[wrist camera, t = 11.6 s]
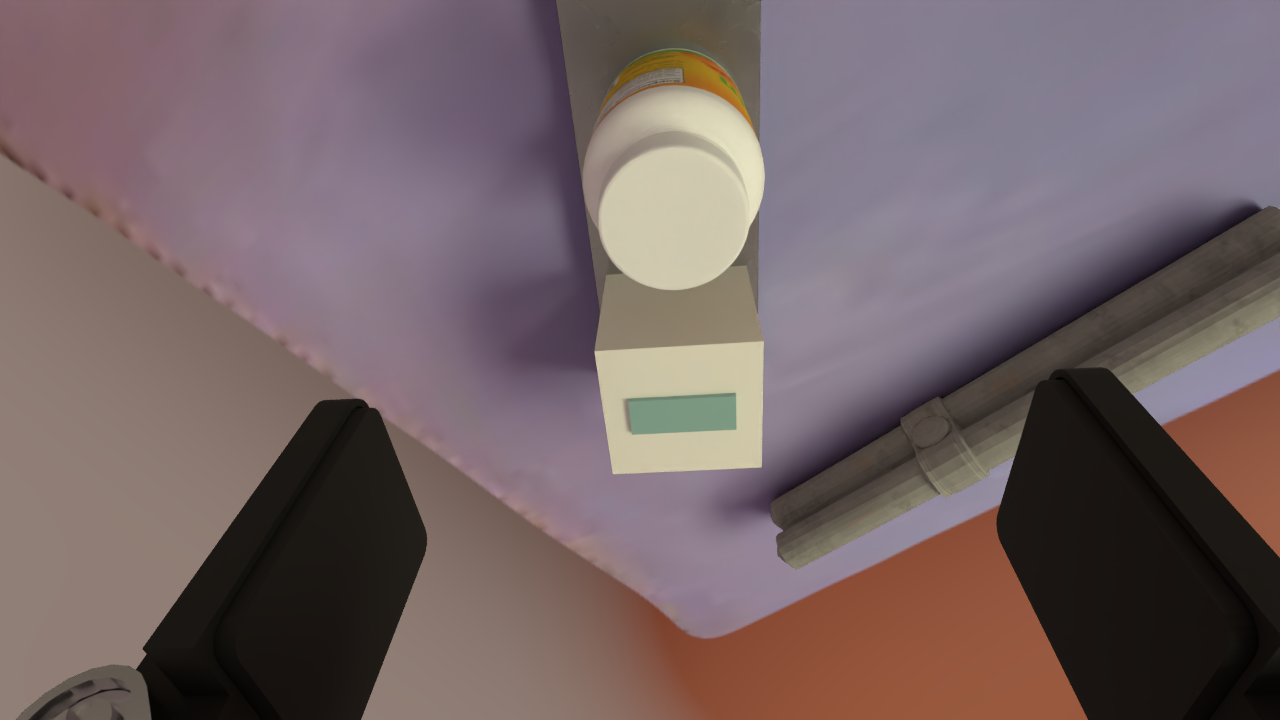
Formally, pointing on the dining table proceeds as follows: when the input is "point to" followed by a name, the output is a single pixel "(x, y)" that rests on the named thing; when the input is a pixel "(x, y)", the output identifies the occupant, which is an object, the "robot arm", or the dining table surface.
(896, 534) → the dining table surface
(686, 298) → the module
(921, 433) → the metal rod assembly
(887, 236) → the dining table surface
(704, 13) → the rail
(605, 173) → the supplement bottle
